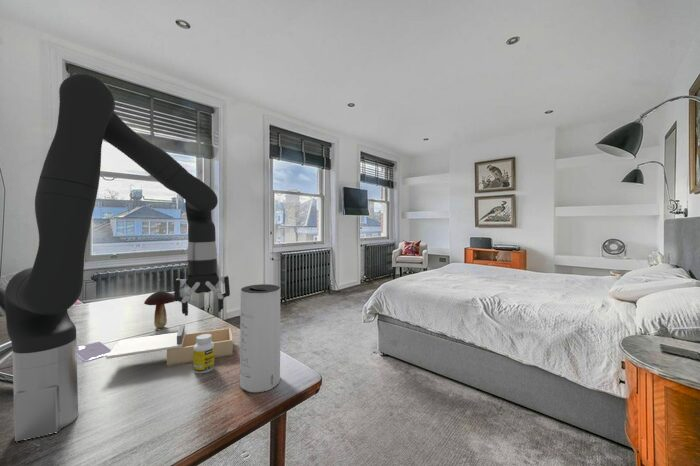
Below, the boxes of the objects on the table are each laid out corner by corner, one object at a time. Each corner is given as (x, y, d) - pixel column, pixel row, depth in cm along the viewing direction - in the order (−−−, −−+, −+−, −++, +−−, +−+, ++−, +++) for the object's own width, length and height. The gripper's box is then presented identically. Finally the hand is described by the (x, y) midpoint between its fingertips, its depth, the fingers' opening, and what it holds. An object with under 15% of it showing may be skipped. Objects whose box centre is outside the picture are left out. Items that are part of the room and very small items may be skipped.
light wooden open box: (232, 355, 93) (232, 340, 93) (166, 366, 85) (166, 350, 85) (230, 341, 104) (230, 327, 104) (172, 350, 96) (172, 335, 96)
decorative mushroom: (143, 327, 117) (142, 290, 117) (174, 321, 124) (173, 286, 124) (145, 335, 109) (144, 295, 108) (178, 328, 116) (178, 291, 115)
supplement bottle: (205, 375, 81) (205, 340, 81) (189, 373, 82) (188, 339, 82) (218, 365, 86) (218, 333, 86) (202, 364, 87) (202, 332, 87)
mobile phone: (84, 360, 88) (70, 348, 96) (84, 363, 88) (70, 350, 96) (115, 351, 94) (99, 340, 102) (115, 354, 94) (100, 343, 102)
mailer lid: (181, 347, 87) (181, 336, 87) (106, 358, 79) (106, 347, 79) (185, 333, 98) (185, 323, 97) (119, 342, 90) (119, 331, 90)
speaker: (288, 383, 77) (288, 286, 76) (250, 399, 70) (250, 292, 69) (268, 368, 85) (268, 280, 84) (233, 381, 78) (232, 285, 77)
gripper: (171, 260, 76) (173, 320, 77) (229, 257, 83) (230, 313, 83) (175, 257, 83) (176, 312, 84) (228, 254, 89) (229, 306, 90)
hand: (203, 312), depth 84 cm, fingers open, 8 cm apart
